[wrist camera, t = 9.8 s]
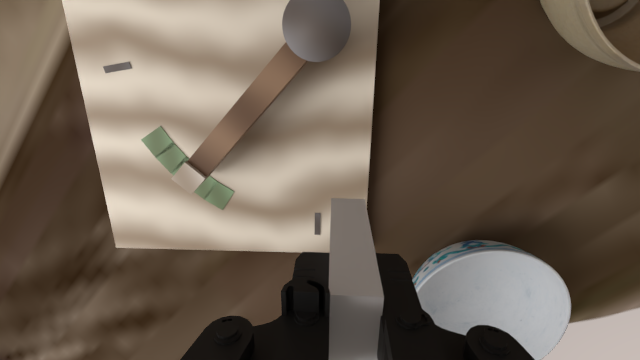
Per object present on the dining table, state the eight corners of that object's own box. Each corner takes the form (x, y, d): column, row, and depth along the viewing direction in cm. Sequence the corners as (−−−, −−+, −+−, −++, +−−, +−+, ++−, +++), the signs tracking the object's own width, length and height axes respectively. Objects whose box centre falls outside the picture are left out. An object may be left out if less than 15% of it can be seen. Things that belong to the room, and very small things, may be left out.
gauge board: (66, -34, 30) (53, -38, 29) (379, -32, 29) (382, -37, 28) (123, 240, 39) (115, 248, 38) (362, 246, 39) (363, 254, 37)
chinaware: (368, 250, 39) (377, 295, 32) (497, 188, 36) (539, 222, 29) (425, 341, 43) (444, 400, 36) (545, 292, 40) (592, 345, 33)
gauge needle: (317, -15, 28) (314, -31, 23) (359, 28, 29) (365, 23, 24) (181, 152, 33) (153, 171, 28) (220, 184, 34) (200, 208, 29)
